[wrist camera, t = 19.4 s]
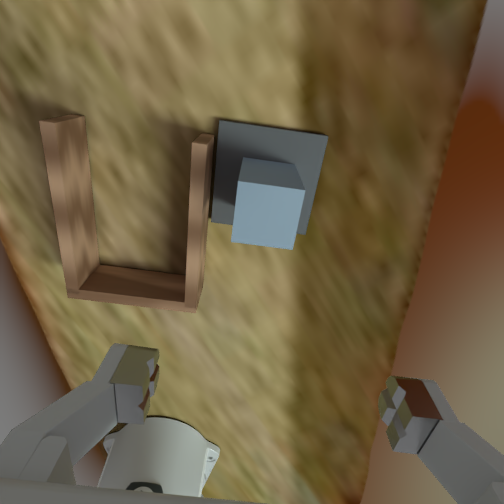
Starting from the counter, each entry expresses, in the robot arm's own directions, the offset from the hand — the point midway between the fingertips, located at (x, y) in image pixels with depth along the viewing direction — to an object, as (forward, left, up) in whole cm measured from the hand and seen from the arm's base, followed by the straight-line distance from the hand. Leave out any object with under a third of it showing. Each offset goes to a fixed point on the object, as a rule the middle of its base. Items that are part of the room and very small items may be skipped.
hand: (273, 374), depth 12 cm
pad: (0, 0, -24) cm, 24 cm away
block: (0, 0, -23) cm, 23 cm away
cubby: (-4, +12, -24) cm, 27 cm away
